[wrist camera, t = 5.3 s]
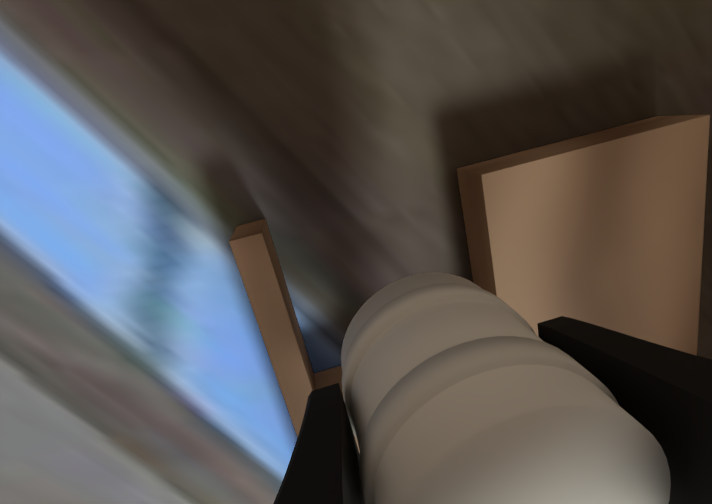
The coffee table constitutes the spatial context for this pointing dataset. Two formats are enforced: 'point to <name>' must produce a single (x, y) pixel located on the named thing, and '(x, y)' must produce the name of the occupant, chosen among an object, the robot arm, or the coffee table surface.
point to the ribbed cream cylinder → (483, 407)
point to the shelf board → (549, 242)
